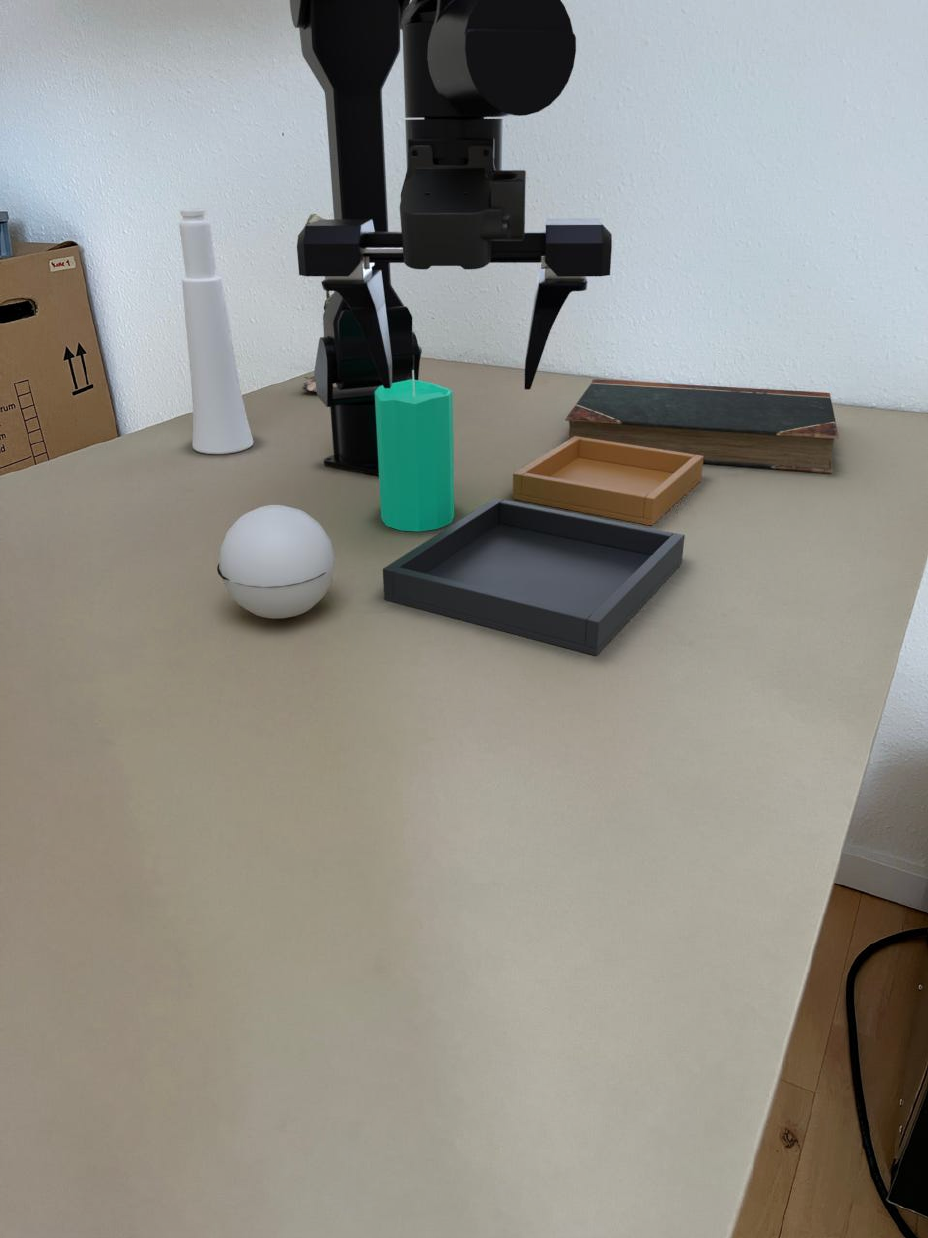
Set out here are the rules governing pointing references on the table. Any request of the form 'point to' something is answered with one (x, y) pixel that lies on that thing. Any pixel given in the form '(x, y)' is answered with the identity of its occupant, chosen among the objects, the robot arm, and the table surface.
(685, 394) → the book
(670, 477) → the wood tray
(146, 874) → the table surface
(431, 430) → the candle
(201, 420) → the cosmetic bottle
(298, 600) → the white sphere
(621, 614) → the dark tray
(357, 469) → the robot arm
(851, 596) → the table surface
